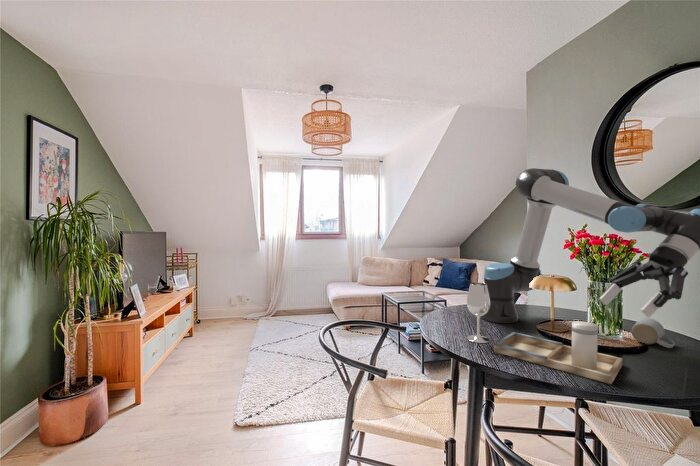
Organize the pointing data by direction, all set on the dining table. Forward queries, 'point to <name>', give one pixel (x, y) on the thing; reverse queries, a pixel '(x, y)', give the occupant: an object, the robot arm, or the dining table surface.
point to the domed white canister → (584, 344)
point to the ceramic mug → (650, 333)
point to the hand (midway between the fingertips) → (622, 307)
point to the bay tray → (556, 356)
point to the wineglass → (478, 307)
